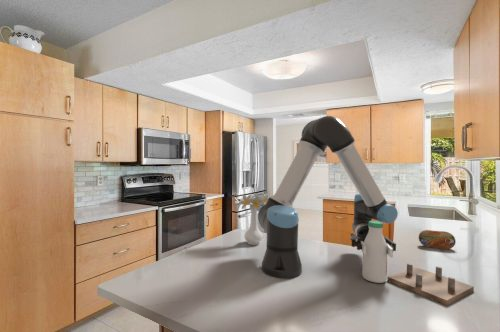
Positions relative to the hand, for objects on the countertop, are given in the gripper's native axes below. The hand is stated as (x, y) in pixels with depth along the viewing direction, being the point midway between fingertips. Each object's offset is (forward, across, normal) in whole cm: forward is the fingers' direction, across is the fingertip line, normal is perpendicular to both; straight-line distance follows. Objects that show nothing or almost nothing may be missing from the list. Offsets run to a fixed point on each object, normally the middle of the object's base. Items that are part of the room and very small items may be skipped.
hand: (378, 251), depth 88 cm
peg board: (-5, -17, -11) cm, 21 cm away
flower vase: (-32, +51, -12) cm, 61 cm away
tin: (-54, -38, -11) cm, 66 cm away
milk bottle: (-5, 0, -11) cm, 12 cm away
